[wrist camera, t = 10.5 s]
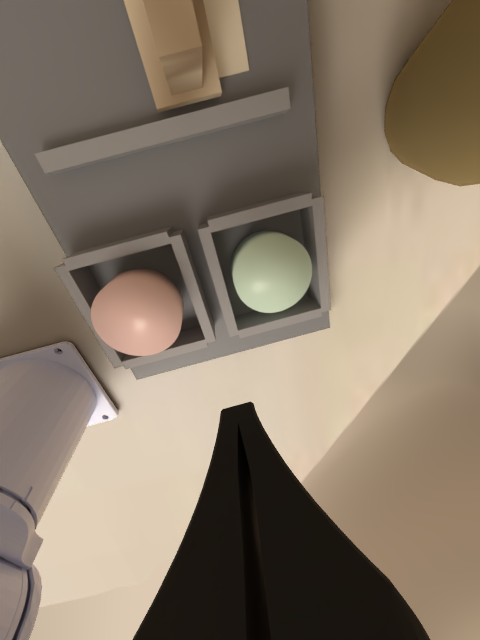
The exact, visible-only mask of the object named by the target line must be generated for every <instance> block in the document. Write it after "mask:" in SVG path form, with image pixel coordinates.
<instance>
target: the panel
mask: <svg viewBox="0 0 480 640" xmlns="http://www.w3.org/2000/svg"><path fill="white" fill-rule="evenodd" d="M203 2H204V7H205V11H206V16H207V21H208V26H209V31H210V36H211V41H212V46H213V51H214V56H215V61H216V65H217V70H218V75H219V80H220V85H221V90H222V94H221V96H220V97H216V98H213V99H209V100H205V101H201V102H198V103H194V104H190V105H186V106H182V107H179V108H175V109H171V110H167V111H163V112H160V113H159V112H158V110H157V108H156V104H155V101H154V98H153V95H152V91H151V88H150V85H149V81H148V78H147V75H146V72H145V68H144V65H143V62H142V59H141V55H140V52H139V49H138V46H137V42H136V39H135V36H134V33H133V29H132V26H131V23H130V20H129V16H128V13H127V10H126V6H125V3H124V0H0V140H1V142H2V143H3V145H4V147H5V149H6V150H7V152H8V154H9V156H10V157H11V159H12V161H13V163H14V164H15V166H16V168H17V170H18V171H19V173H20V175H21V177H22V178H23V180H24V182H25V184H26V186H27V187H28V189H29V191H30V193H31V194H32V196H33V198H34V200H35V201H36V203H37V205H38V207H39V208H40V210H41V212H42V214H43V215H44V217H45V219H46V221H47V222H48V224H49V226H50V228H51V230H52V231H53V233H54V235H55V237H56V238H57V240H58V242H59V244H60V245H61V247H62V249H63V251H64V252H65V254H66V256H67V257H66V258H64V259H62V261H63V262H64V263H63V264H61V265H59V266H57V267H55V268H54V270H55V271H56V273H57V275H58V276H59V278H60V280H61V281H62V283H63V285H64V286H65V288H66V289H67V291H68V293H69V294H70V296H71V298H72V299H73V301H74V303H75V304H76V306H77V308H78V309H79V311H80V313H81V314H82V316H83V317H84V319H85V321H86V322H87V324H88V326H89V327H90V329H91V331H92V332H93V334H94V336H95V337H96V339H97V341H98V342H99V344H100V345H101V347H102V349H103V350H104V352H105V354H106V355H107V357H108V359H109V360H110V362H111V364H112V365H113V367H114V368H117V367H121V366H124V367H125V369H129V368H130V369H131V370H132V372H133V374H134V376H135V377H136V379H137V380H138V379H141V378H145V377H149V376H153V375H156V374H160V373H164V372H167V371H171V370H175V369H178V368H182V367H186V366H190V365H193V364H197V363H201V362H204V361H208V360H212V359H216V358H219V357H223V356H227V355H230V354H234V353H238V352H241V351H245V350H249V349H253V348H256V347H260V346H264V345H267V344H271V343H275V342H278V341H282V340H286V339H290V338H293V337H297V336H301V335H304V334H308V333H312V332H315V331H319V330H323V329H327V328H330V322H329V310H331V305H330V290H329V274H328V259H327V243H326V228H325V212H324V197H323V196H321V192H320V177H319V163H318V148H317V134H316V119H315V105H314V90H313V76H312V61H311V47H310V32H309V18H308V3H307V0H203ZM262 230H275V231H278V232H281V233H283V234H285V235H287V236H289V237H291V238H293V239H294V240H296V241H298V242H299V243H300V244H301V245H302V246H303V247H304V248H305V249H306V251H307V252H308V254H309V256H310V259H311V263H312V278H311V282H310V284H309V287H308V289H307V291H306V292H305V294H304V295H303V297H302V298H301V299H300V300H299V301H298V302H297V303H295V304H294V305H293V306H291V307H289V308H287V309H285V310H283V311H280V312H275V313H264V312H259V311H256V310H254V309H252V308H250V307H248V306H247V305H246V304H245V303H244V302H243V301H242V300H241V299H240V297H239V296H238V294H237V291H236V288H235V285H234V282H233V279H232V276H231V268H230V267H231V260H232V256H233V253H234V251H235V249H236V248H237V246H238V245H239V244H240V242H241V241H242V240H244V239H245V238H246V237H247V236H249V235H251V234H253V233H255V232H258V231H262ZM133 268H147V269H152V270H155V271H158V272H160V273H162V274H164V275H166V276H167V277H168V278H170V279H171V280H172V281H173V282H174V283H175V284H176V286H177V287H178V288H179V290H180V292H181V294H182V297H183V301H184V312H183V318H182V324H181V330H180V333H179V335H178V337H177V339H176V340H175V342H174V343H173V344H172V345H171V346H170V347H168V348H167V349H166V350H164V351H162V352H160V353H157V354H154V355H149V356H134V355H128V354H125V353H122V352H119V351H117V350H115V349H114V348H112V347H110V346H109V345H107V344H106V343H105V342H104V341H103V340H102V339H101V338H100V337H99V335H98V334H97V332H96V331H95V329H94V327H93V324H92V320H91V307H92V303H93V301H94V299H95V297H96V295H97V294H98V293H99V292H100V291H101V290H102V289H103V288H104V287H105V286H106V285H107V284H108V283H109V282H110V281H111V280H112V279H113V278H114V277H115V276H117V275H118V274H119V273H121V272H123V271H126V270H129V269H133Z"/></svg>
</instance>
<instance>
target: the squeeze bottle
mask: <svg viewBox="0 0 480 640" xmlns="http://www.w3.org/2000/svg"><path fill="white" fill-rule="evenodd" d="M385 134H386V137H387V141H388V144H389V147H390V151H391V152H392V153H393V154H394V155H395V156H396V157H397V158H398V159H399V160H400V161H401V163H403V164H405V165H407V166H409V167H411V168H413V169H415V170H417V171H419V172H421V173H423V174H425V175H427V176H429V177H431V178H433V179H435V180H438V181H442V182H446V183H450V184H453V185H457V186H466V185H473V184H480V0H452V2H451V3H450V4H449V6H448V7H447V9H446V10H445V11H444V13H443V14H442V15H441V17H440V18H439V19H438V21H437V22H436V23H435V25H434V26H433V27H432V29H431V30H430V31H429V33H428V34H427V36H426V37H425V38H424V40H423V41H422V42H421V44H420V45H419V46H418V48H417V49H416V50H415V52H414V53H413V54H412V56H411V57H410V59H409V60H408V62H407V63H406V65H405V66H404V68H403V69H402V71H401V72H400V74H399V75H398V76H397V78H396V79H395V82H394V85H393V87H392V90H391V93H390V96H389V99H388V102H387V105H386V115H385Z"/></svg>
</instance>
